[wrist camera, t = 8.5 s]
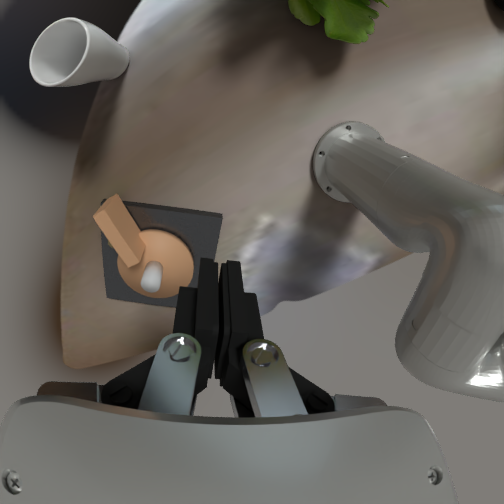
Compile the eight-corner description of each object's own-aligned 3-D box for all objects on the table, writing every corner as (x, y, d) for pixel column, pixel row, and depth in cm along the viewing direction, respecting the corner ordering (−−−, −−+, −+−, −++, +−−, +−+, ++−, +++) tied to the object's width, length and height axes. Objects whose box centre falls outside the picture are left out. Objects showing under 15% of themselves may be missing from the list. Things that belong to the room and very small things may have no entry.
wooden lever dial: (146, 176, 34) (136, 190, 30) (207, 277, 44) (207, 301, 40) (82, 215, 35) (67, 233, 31) (146, 302, 45) (141, 325, 41)
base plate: (222, 213, 41) (223, 231, 36) (205, 304, 50) (205, 327, 45) (104, 198, 37) (90, 214, 32) (108, 292, 45) (101, 313, 41)
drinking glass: (103, 95, 29) (45, 102, 16) (82, 60, 25) (19, 54, 13) (144, 65, 28) (103, 50, 15) (122, 30, 24) (73, 2, 11)
